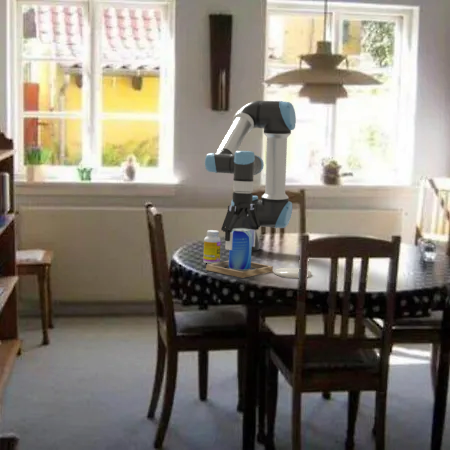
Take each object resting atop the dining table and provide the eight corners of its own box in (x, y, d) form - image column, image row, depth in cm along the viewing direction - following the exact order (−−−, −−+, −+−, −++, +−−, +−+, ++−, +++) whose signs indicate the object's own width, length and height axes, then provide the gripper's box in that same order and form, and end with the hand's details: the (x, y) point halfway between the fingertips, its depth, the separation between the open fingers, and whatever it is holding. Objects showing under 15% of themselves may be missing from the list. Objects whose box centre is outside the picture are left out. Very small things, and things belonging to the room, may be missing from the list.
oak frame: (236, 264, 315) (236, 259, 314) (272, 271, 303) (272, 266, 303) (206, 269, 301) (206, 264, 301) (242, 277, 290) (242, 272, 289)
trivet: (288, 268, 309) (288, 266, 309) (318, 274, 300) (318, 272, 300) (266, 273, 299) (266, 271, 299) (296, 280, 290) (297, 277, 290)
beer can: (225, 271, 300) (227, 229, 297) (232, 267, 307) (234, 226, 305) (246, 274, 297) (248, 231, 294) (253, 269, 305) (255, 228, 302)
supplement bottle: (217, 265, 311) (219, 232, 310) (201, 263, 313) (202, 231, 311) (221, 261, 318) (222, 230, 316) (205, 260, 319) (206, 229, 317)
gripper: (255, 189, 309) (253, 243, 312) (213, 192, 291) (210, 249, 293) (270, 191, 305) (268, 246, 307) (228, 194, 286) (226, 252, 289)
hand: (240, 248), depth 300 cm, fingers open, 13 cm apart
